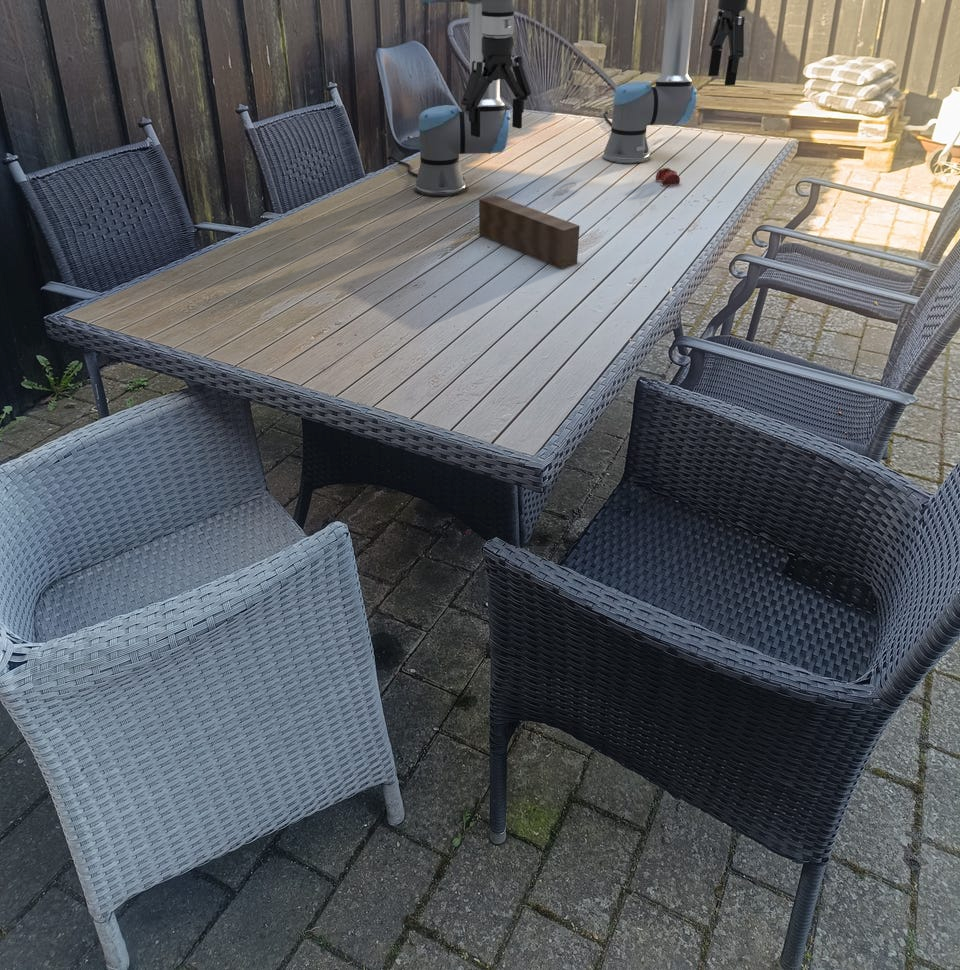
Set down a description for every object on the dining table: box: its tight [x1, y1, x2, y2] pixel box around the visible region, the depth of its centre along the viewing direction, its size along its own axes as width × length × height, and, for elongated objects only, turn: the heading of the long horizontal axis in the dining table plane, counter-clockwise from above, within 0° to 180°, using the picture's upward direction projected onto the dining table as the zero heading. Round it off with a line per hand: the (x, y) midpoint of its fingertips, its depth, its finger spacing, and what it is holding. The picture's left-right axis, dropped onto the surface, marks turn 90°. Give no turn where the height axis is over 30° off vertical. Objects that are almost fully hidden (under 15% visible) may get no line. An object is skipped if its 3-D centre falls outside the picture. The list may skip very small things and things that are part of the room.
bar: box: [478, 195, 581, 269], centre depth 214 cm, size 32×6×10 cm, turn 40°
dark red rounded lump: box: [655, 167, 681, 186], centre depth 263 cm, size 6×4×8 cm
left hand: (496, 131), depth 209 cm, fingers open, 13 cm apart
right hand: (721, 80), depth 236 cm, fingers open, 13 cm apart
